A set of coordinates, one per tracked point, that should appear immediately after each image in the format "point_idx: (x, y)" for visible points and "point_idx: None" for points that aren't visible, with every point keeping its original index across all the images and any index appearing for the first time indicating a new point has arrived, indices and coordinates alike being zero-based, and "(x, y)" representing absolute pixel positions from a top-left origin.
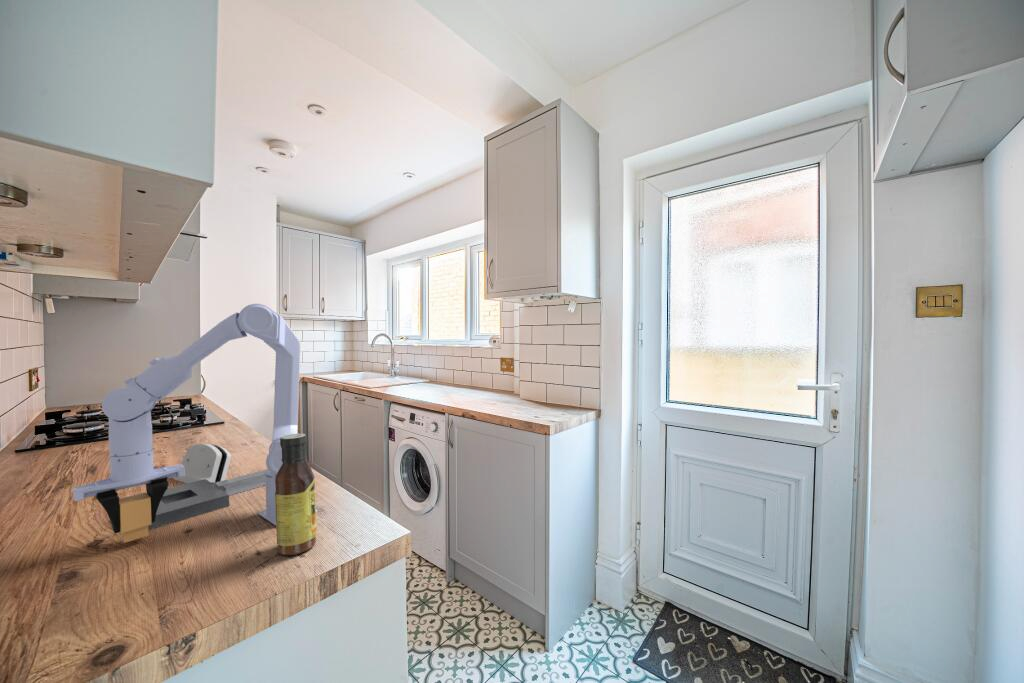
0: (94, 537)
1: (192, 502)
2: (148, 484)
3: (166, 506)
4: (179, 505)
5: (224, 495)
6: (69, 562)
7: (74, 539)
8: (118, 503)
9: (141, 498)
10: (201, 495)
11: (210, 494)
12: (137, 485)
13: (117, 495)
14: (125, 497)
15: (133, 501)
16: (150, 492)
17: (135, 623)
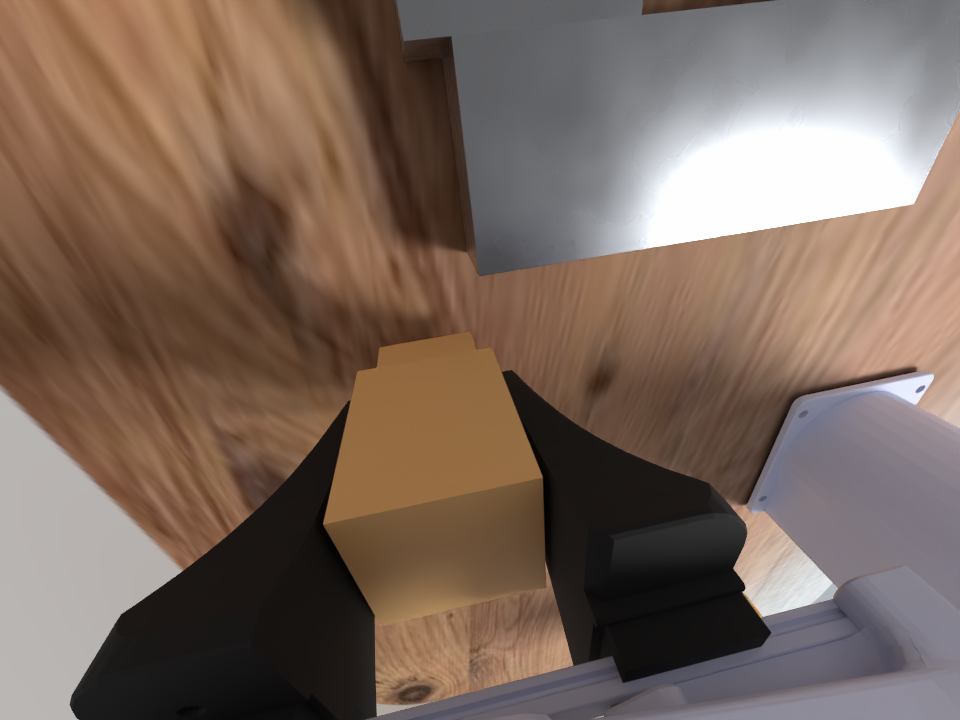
0: (211, 108)
1: (749, 178)
2: (588, 626)
3: (628, 108)
4: (683, 173)
5: (896, 198)
6: (220, 394)
7: (57, 13)
8: (372, 658)
9: (498, 579)
10: (871, 32)
11: (901, 75)
12: (503, 702)
13: (352, 700)
14: (394, 514)
15: (452, 604)
16: (562, 592)
17: (441, 664)
